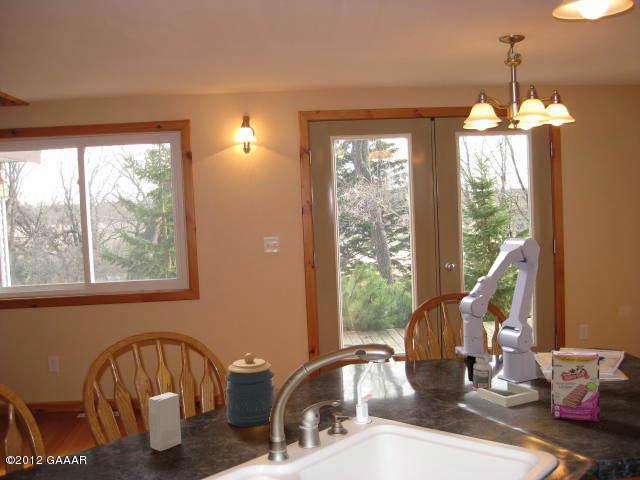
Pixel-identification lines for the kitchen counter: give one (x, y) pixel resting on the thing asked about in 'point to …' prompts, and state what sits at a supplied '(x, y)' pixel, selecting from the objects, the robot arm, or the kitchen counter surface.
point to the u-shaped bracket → (521, 396)
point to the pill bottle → (482, 374)
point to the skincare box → (164, 421)
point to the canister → (249, 392)
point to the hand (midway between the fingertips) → (473, 381)
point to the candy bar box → (575, 385)
